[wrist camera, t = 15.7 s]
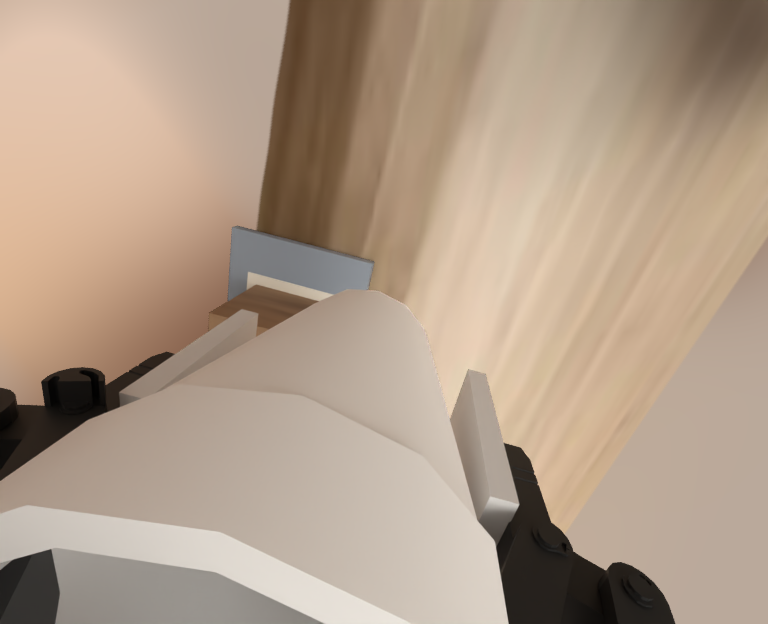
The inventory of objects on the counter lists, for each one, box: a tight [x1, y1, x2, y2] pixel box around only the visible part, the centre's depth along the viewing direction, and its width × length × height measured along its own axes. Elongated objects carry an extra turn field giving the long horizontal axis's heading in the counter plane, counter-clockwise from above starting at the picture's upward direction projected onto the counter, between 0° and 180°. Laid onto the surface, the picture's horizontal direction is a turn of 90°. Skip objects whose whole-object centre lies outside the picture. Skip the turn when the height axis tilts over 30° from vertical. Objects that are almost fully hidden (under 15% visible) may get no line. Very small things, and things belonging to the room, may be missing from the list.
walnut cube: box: [208, 284, 319, 337], centre depth 34 cm, size 8×8×8 cm
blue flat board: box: [228, 226, 374, 301], centre depth 38 cm, size 18×14×1 cm
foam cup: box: [0, 289, 509, 624], centre depth 11 cm, size 10×9×13 cm
